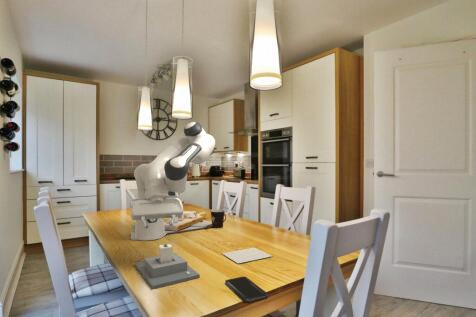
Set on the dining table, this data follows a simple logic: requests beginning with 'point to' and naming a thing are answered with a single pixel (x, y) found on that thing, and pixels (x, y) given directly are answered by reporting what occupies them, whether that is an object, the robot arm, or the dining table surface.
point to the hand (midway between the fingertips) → (159, 226)
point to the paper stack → (246, 255)
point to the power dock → (167, 277)
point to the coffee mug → (217, 218)
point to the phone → (246, 289)
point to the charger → (165, 253)
